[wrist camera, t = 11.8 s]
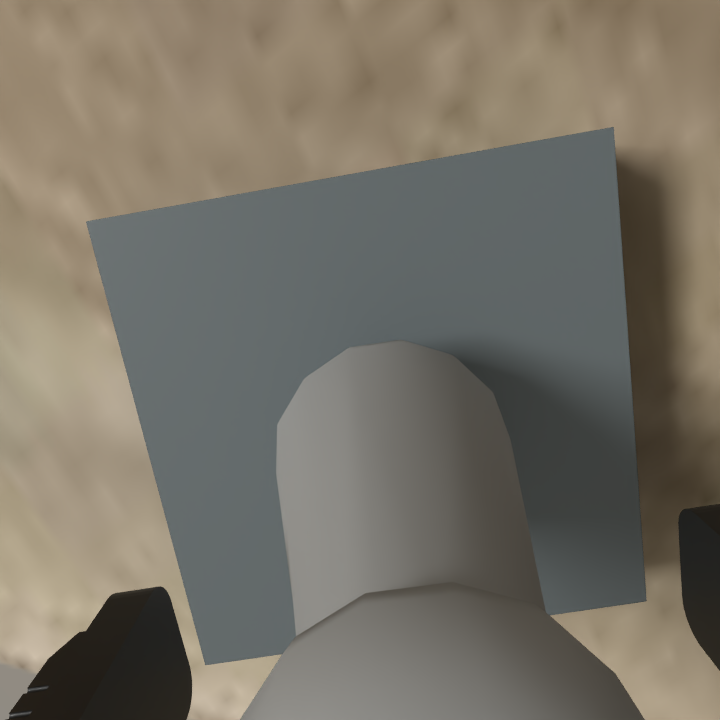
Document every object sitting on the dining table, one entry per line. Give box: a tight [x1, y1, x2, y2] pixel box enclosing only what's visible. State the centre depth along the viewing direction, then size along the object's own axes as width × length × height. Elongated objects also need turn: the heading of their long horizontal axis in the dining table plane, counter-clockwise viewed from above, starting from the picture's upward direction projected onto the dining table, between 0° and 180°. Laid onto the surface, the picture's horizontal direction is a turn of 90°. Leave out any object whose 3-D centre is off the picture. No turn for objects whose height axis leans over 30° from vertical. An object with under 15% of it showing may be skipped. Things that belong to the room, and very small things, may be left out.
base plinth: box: [86, 127, 646, 665], centre depth 19 cm, size 14×14×3 cm
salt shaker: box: [240, 340, 645, 720], centre depth 11 cm, size 6×6×13 cm
